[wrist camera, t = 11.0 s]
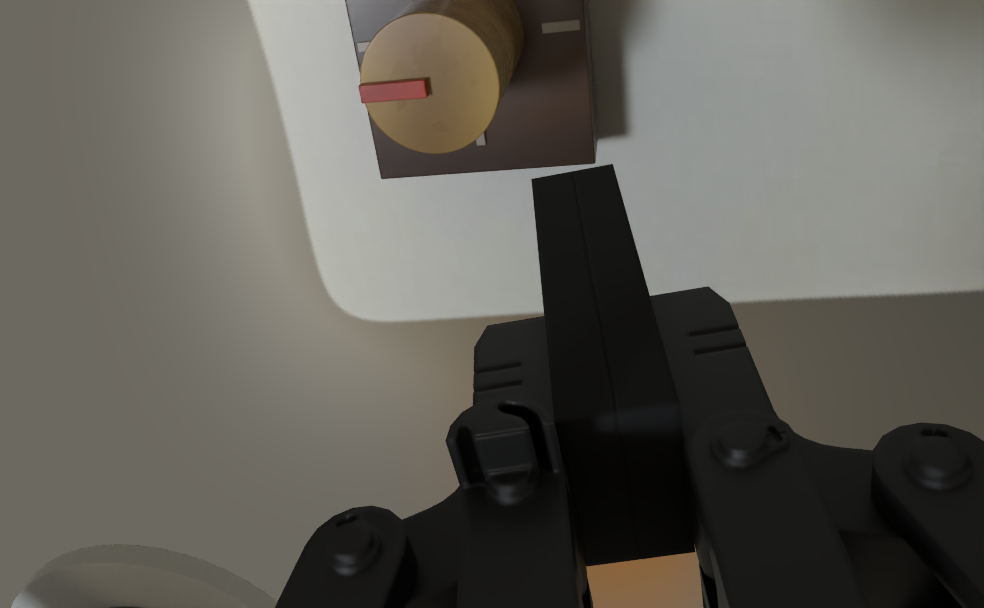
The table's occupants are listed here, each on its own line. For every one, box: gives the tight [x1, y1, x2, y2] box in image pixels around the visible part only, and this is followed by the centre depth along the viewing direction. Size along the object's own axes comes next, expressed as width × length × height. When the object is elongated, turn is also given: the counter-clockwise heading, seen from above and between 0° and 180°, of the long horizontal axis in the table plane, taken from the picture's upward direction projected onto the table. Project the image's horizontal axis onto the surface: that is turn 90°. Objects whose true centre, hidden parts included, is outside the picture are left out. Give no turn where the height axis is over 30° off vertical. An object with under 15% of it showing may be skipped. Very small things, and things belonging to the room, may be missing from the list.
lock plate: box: [345, 0, 598, 179], centre depth 33 cm, size 11×9×3 cm
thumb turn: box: [359, 0, 524, 154], centre depth 29 cm, size 4×4×7 cm
